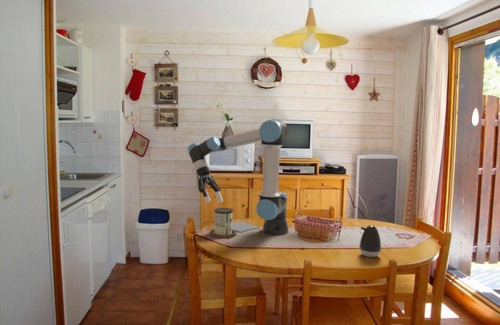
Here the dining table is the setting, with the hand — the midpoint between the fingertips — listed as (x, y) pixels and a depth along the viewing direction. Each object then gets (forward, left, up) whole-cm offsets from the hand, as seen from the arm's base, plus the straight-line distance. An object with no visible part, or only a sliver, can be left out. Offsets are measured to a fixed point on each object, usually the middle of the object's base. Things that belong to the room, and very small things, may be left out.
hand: (215, 202), depth 223 cm
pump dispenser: (-78, -32, -18) cm, 86 cm away
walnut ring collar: (-5, -2, -18) cm, 19 cm away
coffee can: (-5, -2, -18) cm, 19 cm away
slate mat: (-1, -20, -18) cm, 26 cm away
